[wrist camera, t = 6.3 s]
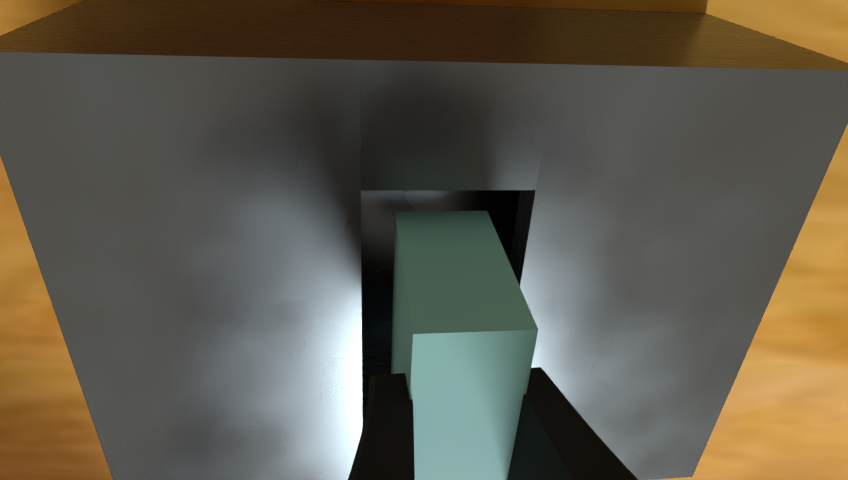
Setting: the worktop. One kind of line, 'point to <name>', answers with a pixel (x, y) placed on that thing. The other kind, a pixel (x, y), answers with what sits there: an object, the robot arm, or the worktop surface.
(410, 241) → the teal rectangular brick
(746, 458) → the worktop surface
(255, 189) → the coin box
